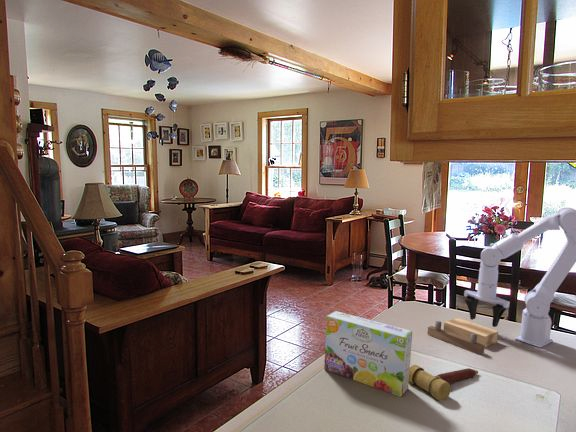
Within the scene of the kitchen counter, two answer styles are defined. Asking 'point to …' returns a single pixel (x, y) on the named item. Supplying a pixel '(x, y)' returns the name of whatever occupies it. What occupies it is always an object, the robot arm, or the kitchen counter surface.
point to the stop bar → (456, 339)
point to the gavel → (438, 380)
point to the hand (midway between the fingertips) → (483, 322)
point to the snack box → (368, 352)
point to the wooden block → (471, 331)
